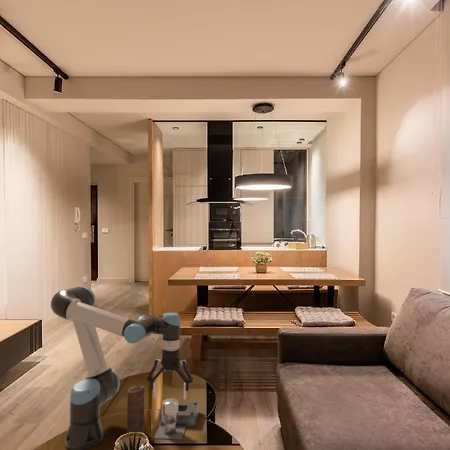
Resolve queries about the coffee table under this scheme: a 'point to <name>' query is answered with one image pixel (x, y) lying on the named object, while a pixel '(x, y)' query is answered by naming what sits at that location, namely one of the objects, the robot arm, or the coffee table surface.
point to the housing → (186, 414)
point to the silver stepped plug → (170, 415)
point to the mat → (176, 436)
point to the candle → (135, 409)
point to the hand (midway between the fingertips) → (169, 397)
